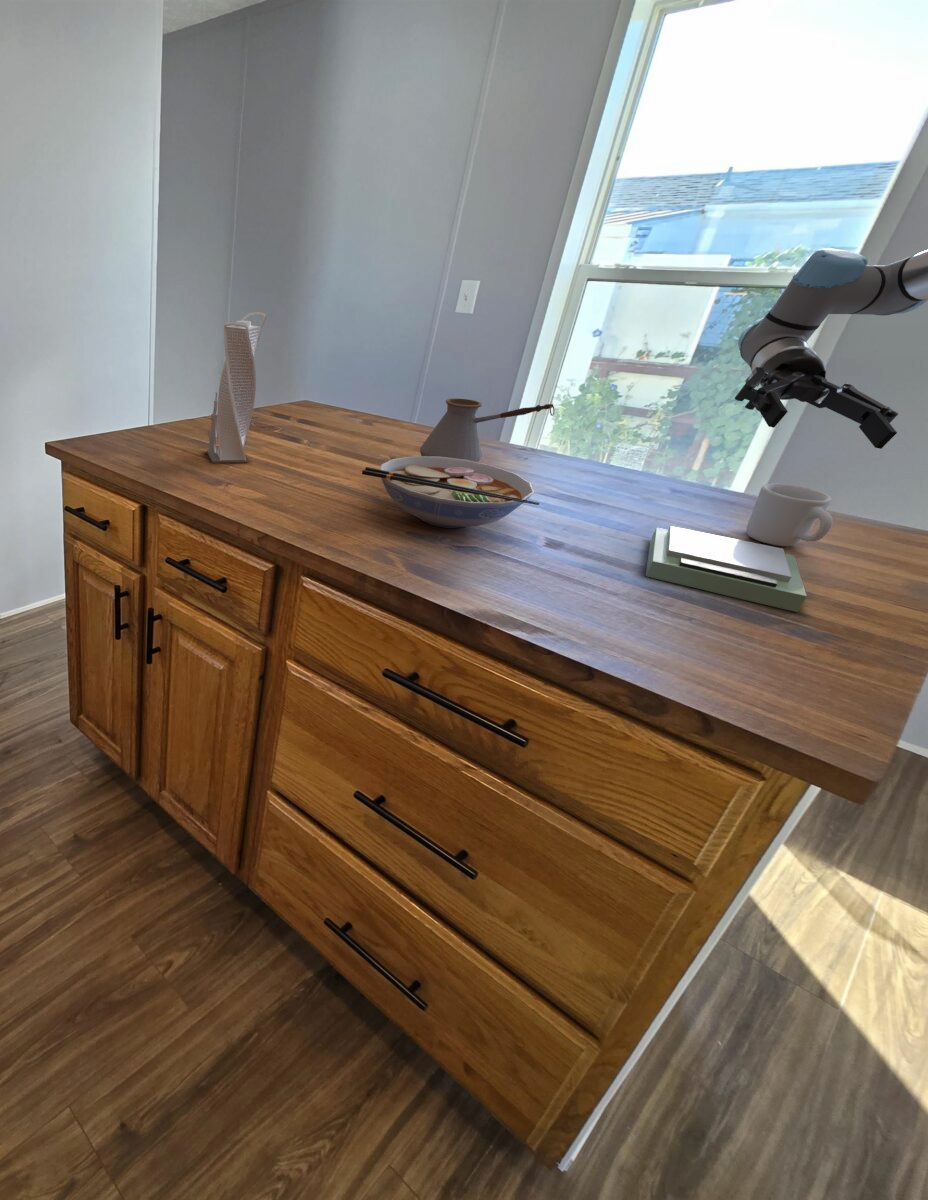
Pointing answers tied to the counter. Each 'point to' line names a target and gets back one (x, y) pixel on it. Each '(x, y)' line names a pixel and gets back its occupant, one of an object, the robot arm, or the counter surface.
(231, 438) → the skyscraper
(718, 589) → the scale
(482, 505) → the ramen bowl
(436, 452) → the coffee pot
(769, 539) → the cup
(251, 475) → the counter surface
